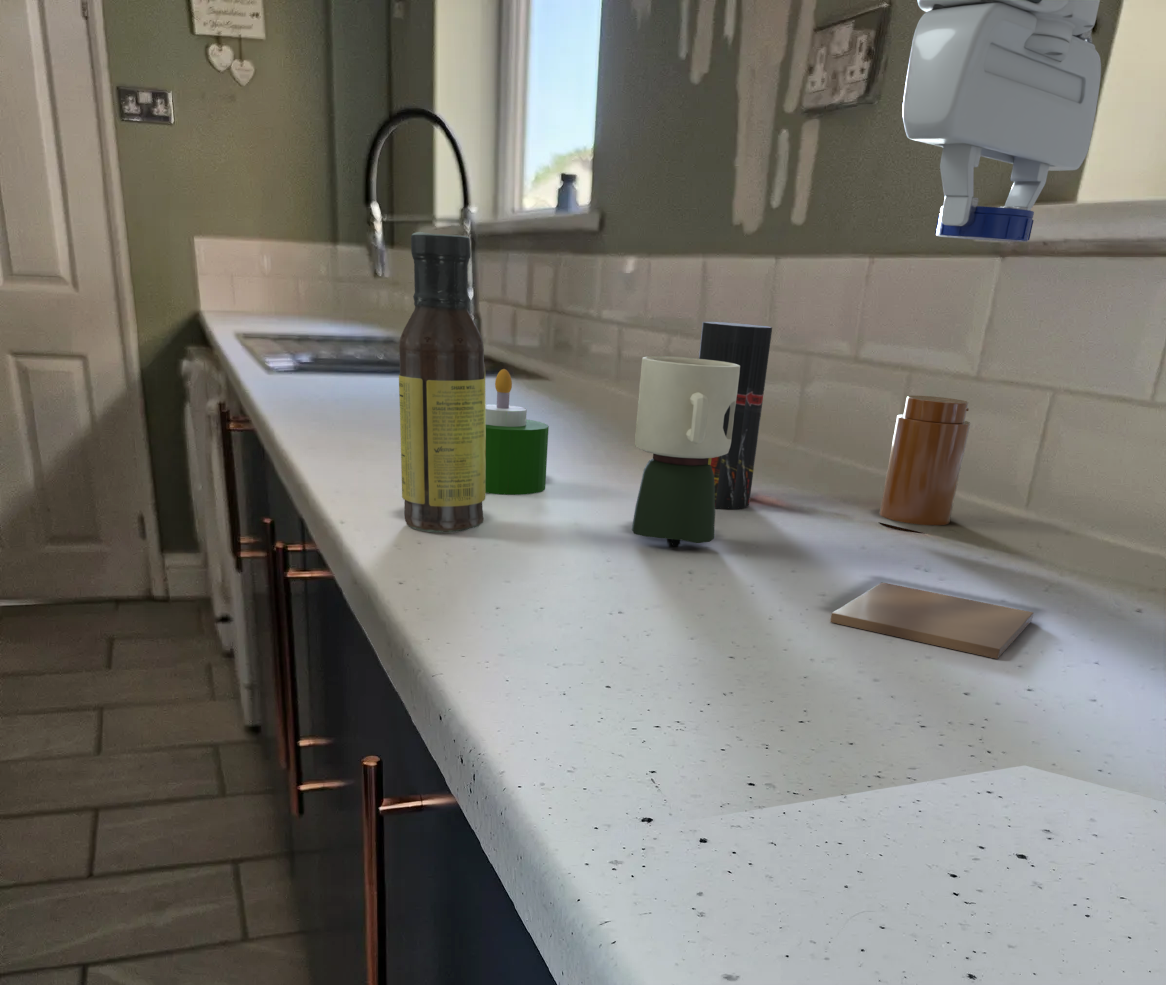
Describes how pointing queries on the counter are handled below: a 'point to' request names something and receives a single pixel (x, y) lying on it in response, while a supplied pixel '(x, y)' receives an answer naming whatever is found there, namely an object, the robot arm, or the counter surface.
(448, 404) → the sauce bottle
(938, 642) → the coaster
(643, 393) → the character mug
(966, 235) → the jar lid
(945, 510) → the jar
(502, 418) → the candle
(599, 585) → the counter surface
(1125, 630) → the counter surface
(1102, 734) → the counter surface
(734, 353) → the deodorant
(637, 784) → the counter surface
